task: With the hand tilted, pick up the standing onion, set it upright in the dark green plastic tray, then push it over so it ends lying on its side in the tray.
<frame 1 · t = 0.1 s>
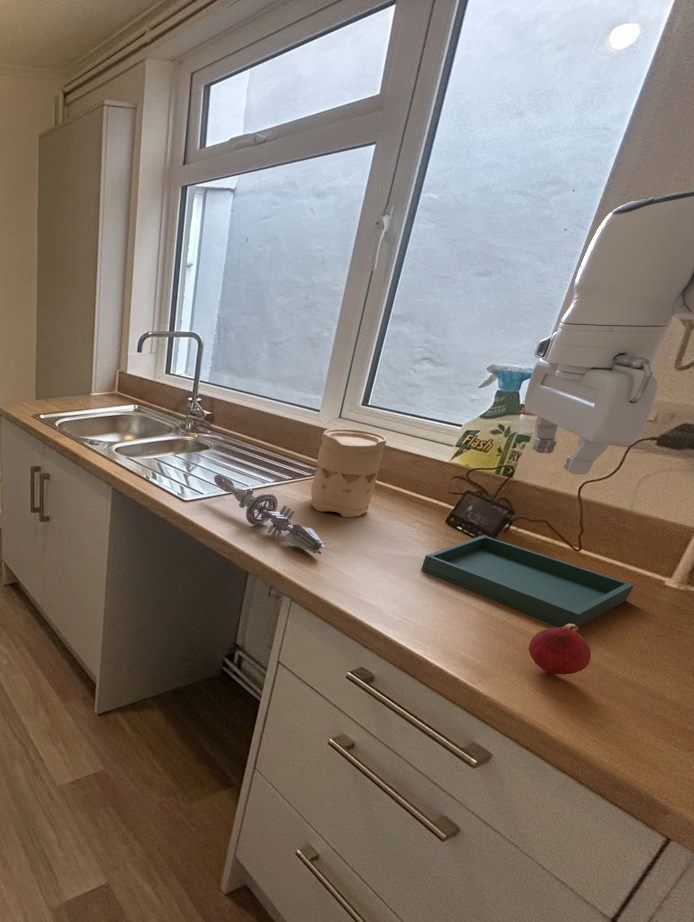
hand: (557, 461, 67), 29 cm above the worktop, tool pointing down, fingers open, 8 cm apart
tray: (518, 584, 94), on the worktop
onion: (548, 674, 72), on the worktop
spaceship: (258, 525, 118), on the worktop
container: (336, 508, 128), on the worktop
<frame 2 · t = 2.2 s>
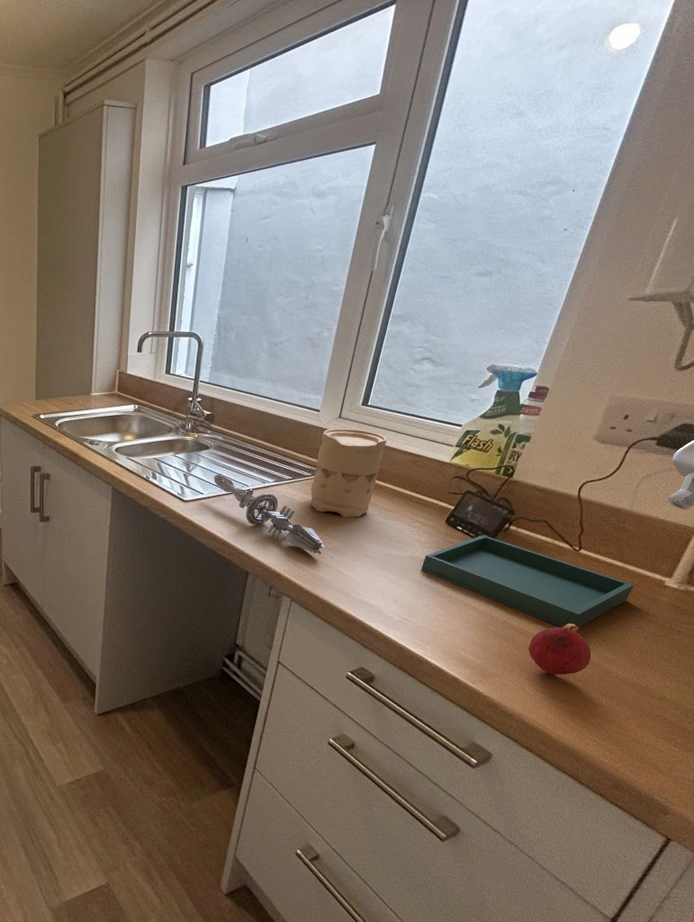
nothing on the worktop moved.
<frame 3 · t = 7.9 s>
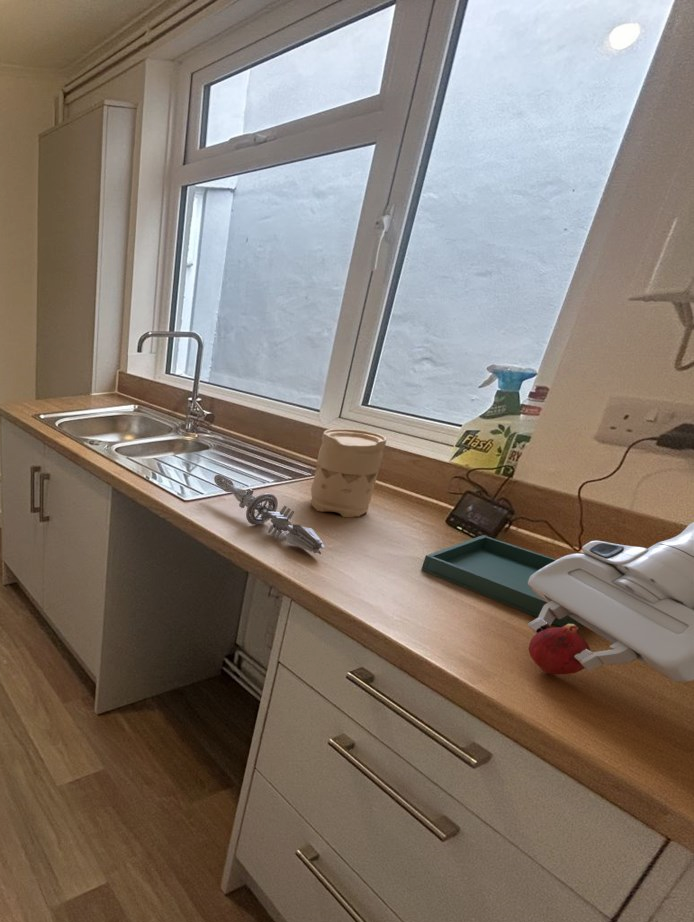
hand: (555, 646, 71), 4 cm above the worktop, tool tilted 45°, fingers closed on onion, 6 cm apart
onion: (548, 674, 72), on the worktop, touching gripper
everything else where it was.
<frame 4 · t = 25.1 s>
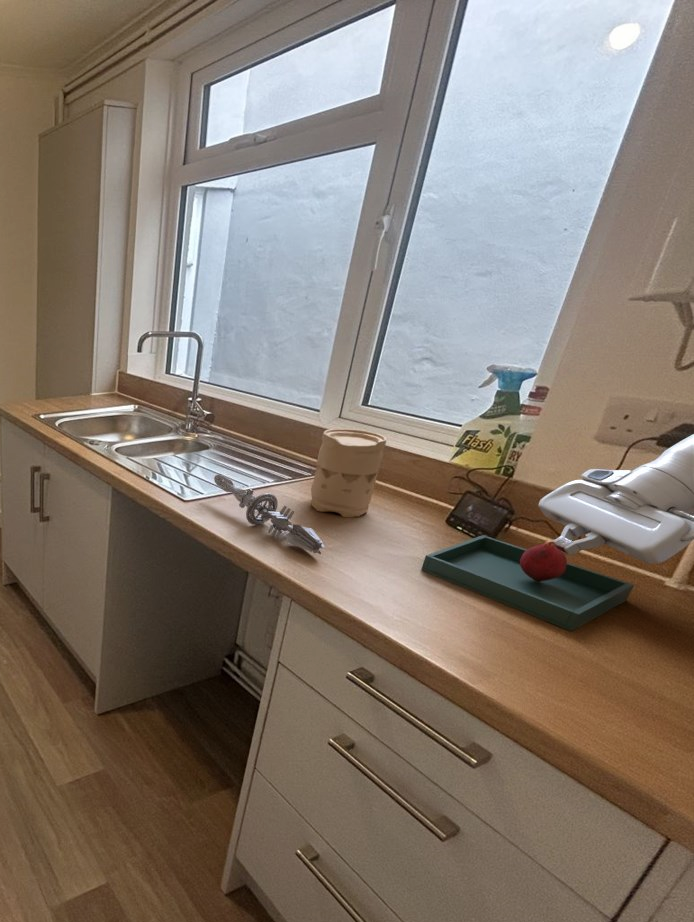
hand: (560, 549, 91), 7 cm above the worktop, tool tilted 45°, fingers closed, pressing on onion
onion: (536, 582, 94), resting on tray, touching gripper
everything else where it was.
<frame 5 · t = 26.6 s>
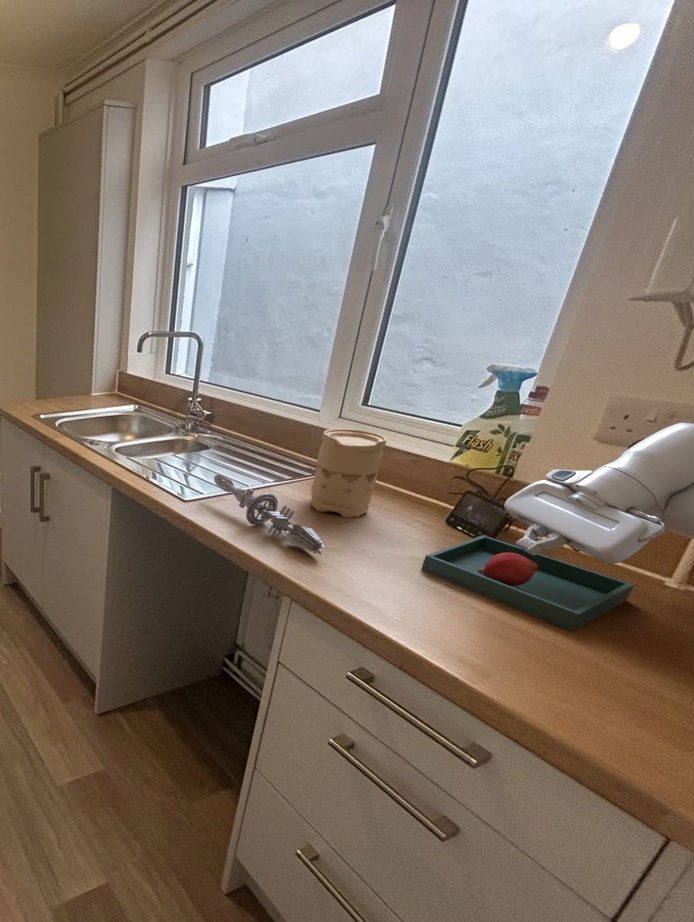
hand: (523, 549, 91), 7 cm above the worktop, tool tilted 45°, fingers closed
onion: (539, 565, 90), point 5 cm above the worktop, touching tray
everything else where it was.
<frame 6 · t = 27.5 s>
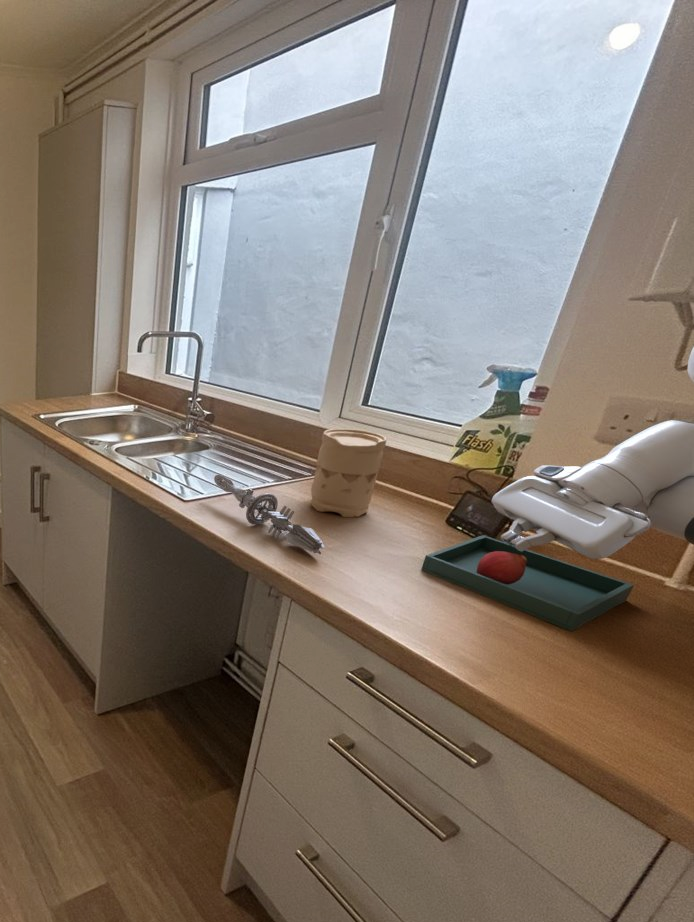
hand: (509, 544, 91), 8 cm above the worktop, tool tilted 45°, fingers closed
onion: (527, 557, 89), point 7 cm above the worktop, touching gripper, tray
everything else where it was.
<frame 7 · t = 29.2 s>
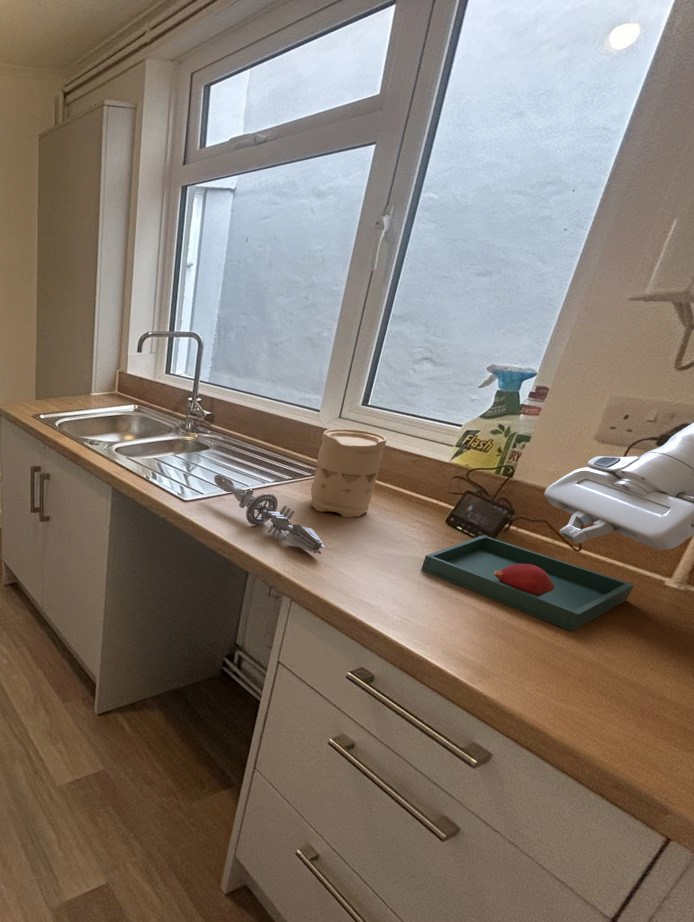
hand: (568, 537, 90), 10 cm above the worktop, tool tilted 45°, fingers closed
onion: (554, 588, 87), point 3 cm above the worktop, touching tray
everything else where it was.
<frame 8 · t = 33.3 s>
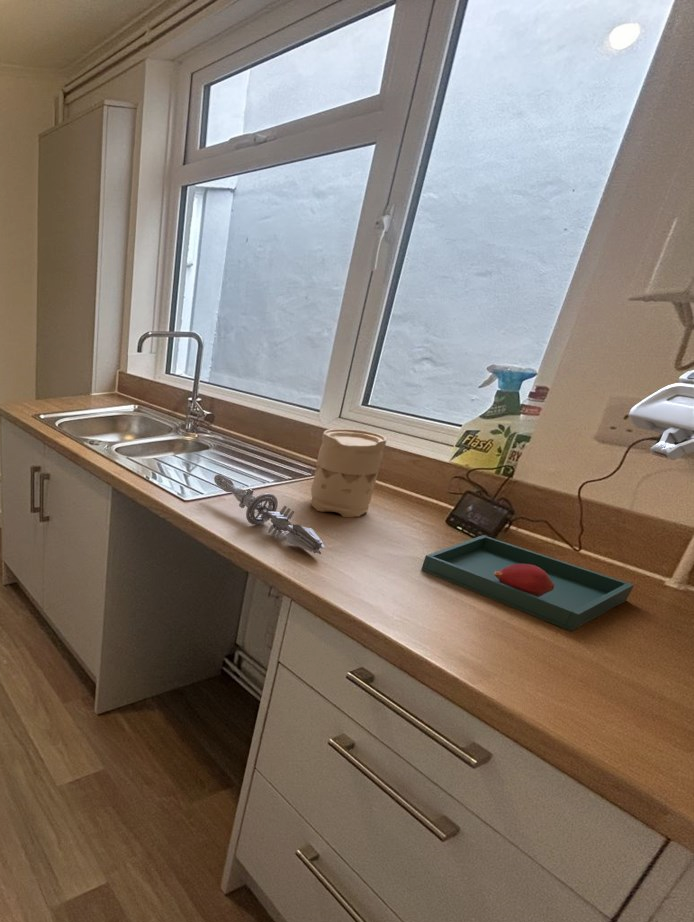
hand: (660, 454, 84), 24 cm above the worktop, tool tilted 45°, fingers closed
nothing on the worktop moved.
at the end: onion tilted 85°; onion inside the target area on the tray (6.5 cm from its centre), point 3.2 cm above the tray's base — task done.
